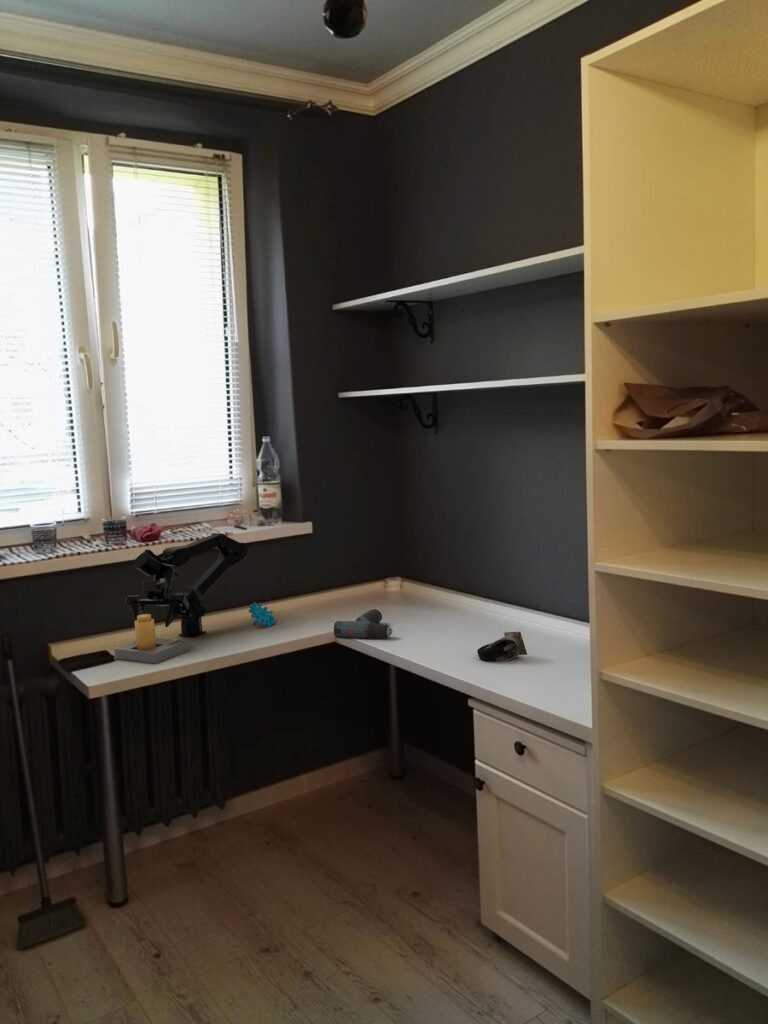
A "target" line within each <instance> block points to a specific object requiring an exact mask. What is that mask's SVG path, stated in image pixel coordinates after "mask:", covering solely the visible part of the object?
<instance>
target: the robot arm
mask: <svg viewBox="0 0 768 1024" xmlns="http://www.w3.org/2000/svg"><path fill="white" fill-rule="evenodd" d="M213 549H217V550H218V551H219V555H218V557H217V558H216V560H215V561H213V563H212V564H211V565H210V567H209V566H208V569H207V570H205V572H204V573H203V574H202V575H200V577H199V578H198V579H197V580H196V581H195V582H194V583H193V584H192V585H191V586H190V587H189V586H181V587H180V588H179V590H178V591H177V592H176V593H174V594H172V592H173V591H172V589H171V587H172V584H173V579H176V578H179V577H180V573H179V572H178V571H177V569H176V567H178V568H180V567H181V568H182V567H183V566H184V565H186V564H188V563H189V562H190V561H191V560H192V559H193V558H194V557H197V556H199V555H201V554H203V553H205V552H208V551H211V550H213ZM247 556H248V547H247V545H246V543H244V542H239V541H237V540H236V539H233V538H232V537H229V536H227V535H225V534H224V533H220V532H213V533H212V534H210V535H208V536H206V537H203V538H200V539H198V540H195V541H193V542H190V543H188V544H186V545H177V546H170V547H166V548H164V549H163V550H162V552H161V553H159V554H155V553H154V552H153V551H152V550H151V549H148V548H146V549H144V551H143V552H141V553H140V554H139V555H138V556H137V557H135V559H134V562H133V566H134V568H135V569H137V570H139V571H140V572H142V573H143V574H144V575H146V576H147V577H152V576H153V580H143V581H142V592H143V593H145V597H147V598H148V599H147V598H145V599H142V597H141V596H140V595H139V594H138V595H128V596H126V598H125V601H124V603H125V605H126V607H127V608H128V609H129V611H130V612H132V613H133V615H134V622H135V621H136V620H137V616H138V615H142V614H145V613H144V610H145V607H166V606H168V612H167V615H166V618H165V623H164V624H165V625H164V627H165V628H168V627H169V626H170V625H171V623H173V622H174V620H175V619H176V618H177V617H180V621H181V622H180V627H181V629H180V630H181V633H179V634H178V636H180V637H188V638H189V637H191V638H195V637H198V636H201V635H203V634H206V633H207V630H203V622H202V617H205V616H206V611H207V609H206V608H205V607H204V606H203V605H201V604H202V601H203V597H204V596H205V594H206V593H207V592H208V591H209V590H210V588H212V587H213V585H214V584H216V582H217V581H219V579H220V578H221V577H222V576H223V575H224V573H226V572H227V570H229V568H230V567H233V566H234V565H237V564H239V563H241V561H243V560H245V559H246V557H247ZM173 567H175V568H173ZM170 594H171V596H170ZM169 596H170V598H169ZM205 632H206V633H205ZM202 633H203V634H202Z"/></svg>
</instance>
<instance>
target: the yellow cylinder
mask: <svg viewBox="0 0 768 1024" xmlns="http://www.w3.org/2000/svg"><path fill="white" fill-rule="evenodd" d="M155 626H156V625H155V619H154V618H152V614H151V613H144V614H142V615H138V616H137V620H136V621H135V620H134V630H135V640H136V642H137V650H144V651H148V650H151V649H153V648H156V638H157V637H156V636H157V635H156V627H155Z"/></svg>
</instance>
